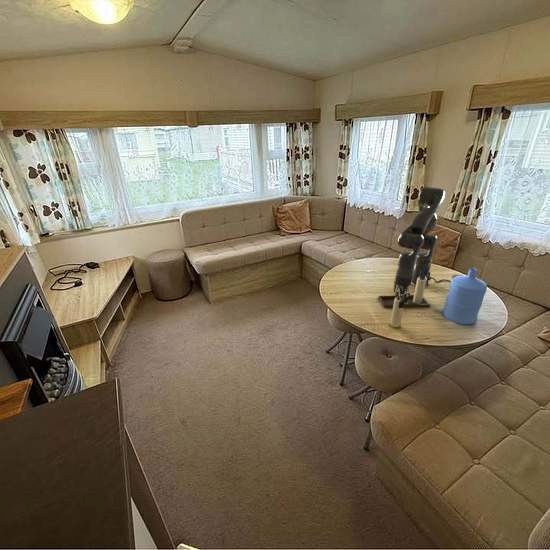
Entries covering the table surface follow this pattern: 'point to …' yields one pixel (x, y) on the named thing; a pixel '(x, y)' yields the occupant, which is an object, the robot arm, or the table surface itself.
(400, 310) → the cream pillar candle
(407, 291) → the bottle
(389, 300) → the tray
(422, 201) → the robot arm
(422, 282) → the bottle
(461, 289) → the water jug
